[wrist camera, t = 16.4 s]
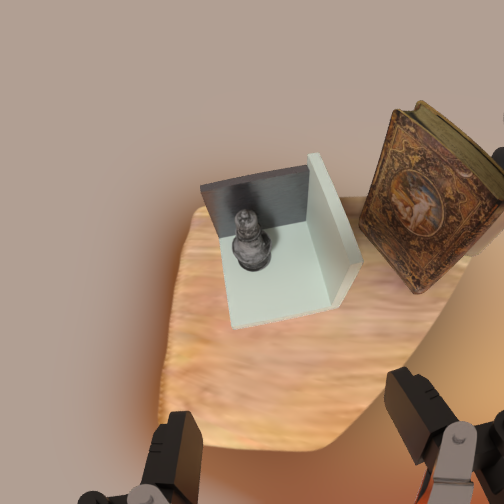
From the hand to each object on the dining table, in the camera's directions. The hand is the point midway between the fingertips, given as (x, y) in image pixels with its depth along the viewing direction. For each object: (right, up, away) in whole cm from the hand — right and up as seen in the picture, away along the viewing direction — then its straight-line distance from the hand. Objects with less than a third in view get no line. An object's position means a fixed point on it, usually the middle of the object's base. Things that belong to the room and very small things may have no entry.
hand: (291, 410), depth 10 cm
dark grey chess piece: (-1, +5, +35) cm, 36 cm away
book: (+23, +6, +35) cm, 42 cm away
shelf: (+2, +3, +36) cm, 36 cm away
